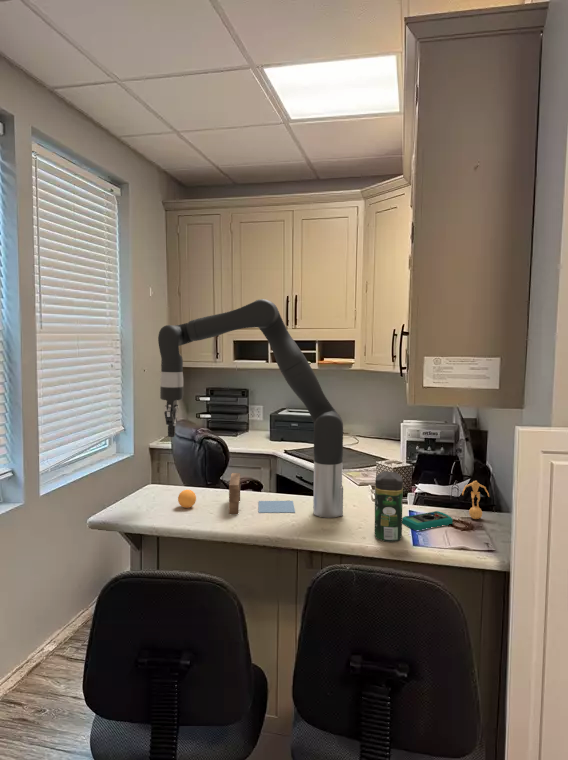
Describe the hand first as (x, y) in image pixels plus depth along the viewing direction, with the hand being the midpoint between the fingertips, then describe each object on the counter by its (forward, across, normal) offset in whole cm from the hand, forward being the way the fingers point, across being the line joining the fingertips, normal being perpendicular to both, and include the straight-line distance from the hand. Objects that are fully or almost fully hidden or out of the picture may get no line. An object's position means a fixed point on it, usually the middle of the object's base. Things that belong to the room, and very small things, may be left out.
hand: (171, 436), depth 174 cm
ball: (+21, -2, -6) cm, 21 cm away
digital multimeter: (+23, -19, -82) cm, 87 cm away
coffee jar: (+23, -29, -67) cm, 77 cm away
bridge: (+23, -2, -22) cm, 32 cm away
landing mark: (+23, -2, -36) cm, 43 cm away
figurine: (+22, -14, -99) cm, 103 cm away
